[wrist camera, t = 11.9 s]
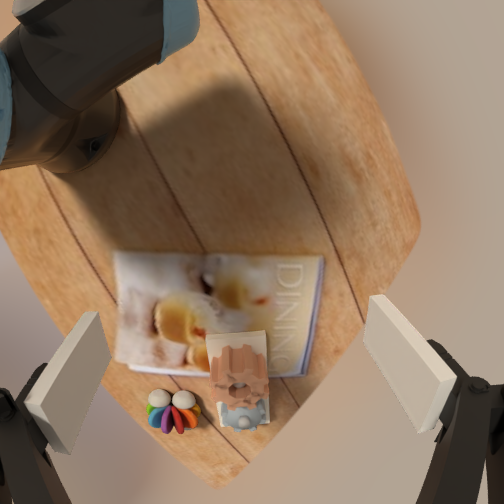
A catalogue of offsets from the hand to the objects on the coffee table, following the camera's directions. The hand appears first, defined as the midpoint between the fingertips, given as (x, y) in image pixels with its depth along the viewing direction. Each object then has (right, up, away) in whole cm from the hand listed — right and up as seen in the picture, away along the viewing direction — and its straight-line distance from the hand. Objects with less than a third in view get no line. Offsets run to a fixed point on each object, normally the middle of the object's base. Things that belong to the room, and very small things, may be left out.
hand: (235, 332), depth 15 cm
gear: (-1, -14, +34) cm, 37 cm away
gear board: (-1, -18, +37) cm, 41 cm away
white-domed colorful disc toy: (-13, -23, +38) cm, 47 cm away
